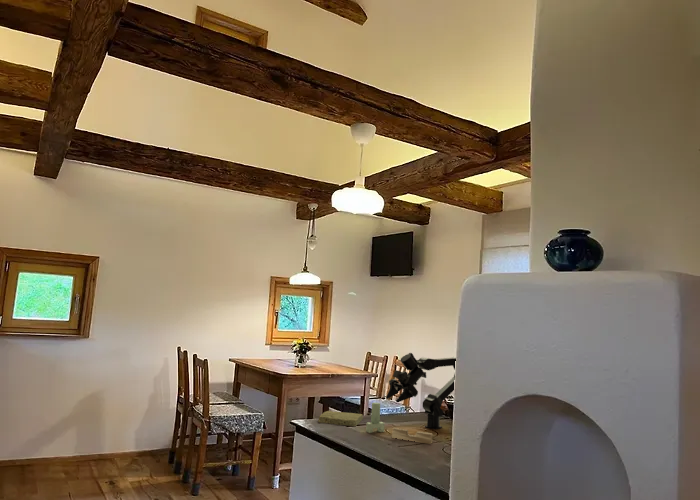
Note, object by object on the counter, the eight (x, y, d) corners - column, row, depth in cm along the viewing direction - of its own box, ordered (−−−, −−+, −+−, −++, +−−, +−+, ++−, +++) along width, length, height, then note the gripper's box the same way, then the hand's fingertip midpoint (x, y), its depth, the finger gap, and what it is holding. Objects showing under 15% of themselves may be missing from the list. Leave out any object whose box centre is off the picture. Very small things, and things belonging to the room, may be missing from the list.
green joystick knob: (380, 430, 255) (381, 402, 256) (384, 431, 251) (385, 403, 252) (365, 431, 251) (366, 402, 252) (369, 433, 248) (370, 404, 249)
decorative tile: (325, 416, 282) (325, 409, 283) (363, 419, 278) (363, 412, 279) (316, 424, 264) (316, 416, 265) (356, 427, 260) (356, 419, 260)
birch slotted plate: (394, 436, 242) (394, 427, 243) (432, 442, 234) (432, 433, 235) (392, 437, 240) (392, 428, 240) (430, 444, 232) (430, 434, 232)
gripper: (393, 362, 268) (372, 384, 262) (414, 367, 251) (392, 390, 245) (405, 379, 270) (385, 401, 264) (427, 384, 254) (405, 408, 248)
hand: (391, 399), depth 255 cm, fingers open, 9 cm apart
